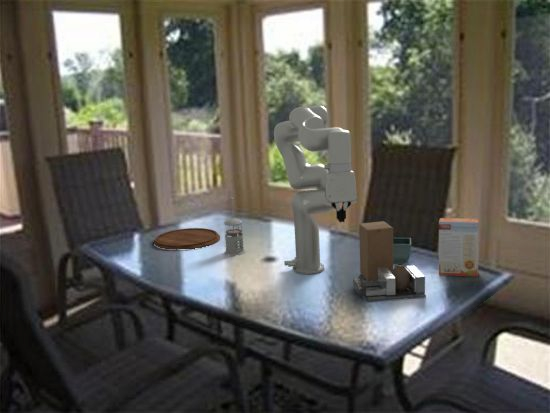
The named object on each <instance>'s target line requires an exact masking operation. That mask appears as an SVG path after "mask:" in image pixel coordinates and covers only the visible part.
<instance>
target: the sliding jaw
mask: <svg viewBox="0 0 550 413" xmlns="http://www.w3.org/2000/svg"><path fill="white" fill-rule="evenodd" d="M352 283H353V287H354V289H355V291H356V292H357V294H358V295H359V297H360V298H365V297H366V296H374V295H395V277H394V276H393V275H392V273H391V272H390V271H389V270H388V269H387V267H378V280H371V281H367V280H361V278H360V277H359V276H358V277H353V280H352ZM377 285H380V287H381V288H382V289H377V290H366V287H365V286H377Z"/></svg>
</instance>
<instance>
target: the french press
mask: <svg viewBox="0 0 550 413" xmlns="http://www.w3.org/2000/svg"><path fill="white" fill-rule="evenodd" d="M229 201H230V202H231V204H233V201H234V197H232V196H231V197H229ZM231 215H232V218H230V219H227V220H225V221H224V222H223V224H224V225H225V226H229V227H232V229H228V230H226V231H225V233H226V234H225V235H224V237H225V239H224V240H225V252H224V255H225V254H226V256H228V255H230V257H233V256H234V257H236V255H238V256H242V255H244V254H246V253H247V251H246V249H245V248H244V235H243V234H244V233H243V226H242V224H243V221H242V220H241V219H238V218H234V212H233V210H231ZM234 227H237V229H236V228H234ZM240 227H241V229H240Z"/></svg>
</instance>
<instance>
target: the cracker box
mask: <svg viewBox="0 0 550 413" xmlns="http://www.w3.org/2000/svg"><path fill="white" fill-rule="evenodd" d="M479 222H480V221H479V218H452V217H451V218H449V217H448V218H447V217H444V218H443V217H440V218H439V221H438V275H439V276H456V277H475V278H476V277H479V276H478V275H479V224H480V223H479Z"/></svg>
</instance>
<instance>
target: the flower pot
mask: <svg viewBox="0 0 550 413" xmlns="http://www.w3.org/2000/svg"><path fill="white" fill-rule="evenodd" d="M411 250H412V238H411V237H393V265H397V264H403V265H406V264H407V263H408V261H409V260H410V256H411Z"/></svg>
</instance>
